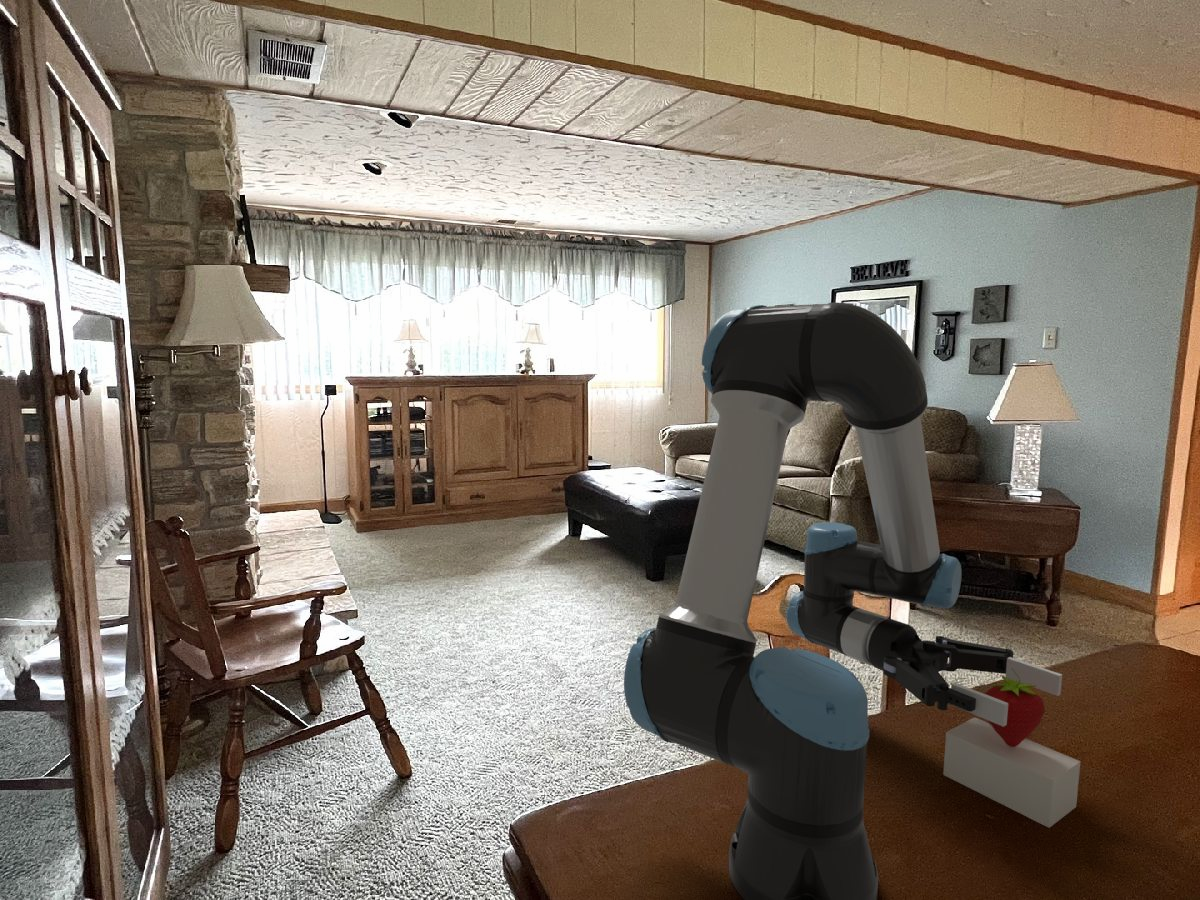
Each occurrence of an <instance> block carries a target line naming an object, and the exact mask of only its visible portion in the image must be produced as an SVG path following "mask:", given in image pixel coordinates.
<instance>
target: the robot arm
mask: <svg viewBox="0 0 1200 900" xmlns="http://www.w3.org/2000/svg"><path fill="white" fill-rule="evenodd" d="M701 365H702V367H703V366H704V368H703V370H702V371H701V374H702V379H703V382H704V383H703V384H704V386H705V388H706V389H707V390H708V391H709V393H711V398H710V402H711V404H712V406H713V407H714V409H715V410H716V411H717V413H718V416H719V417H718V421H717V424H716V430H715V434H714V438H713V443H712V446H711V451H710V453H709V454H710V455H709V458H708V463H707V466H706V467H707V468H706V472H705V476H704V480H703V485H702V489H701V492H700V497H699V501H698V506H697V509H696V513H695V514H696V515H695V518H694V523H693V527H692V531H691V535H690V539H689V543H688V547H687V548H688V549H687V552H686V555H685V561H684V565H683V569H682V573H681V577H680V582H679V586H678V590H677V594H676V597H675V602H674V604H673V605H672V606H670V607H669V608H667V609H666V610H664V611H662V612H660V613H659V616H658V619H657V622H656V627H653V628H649V629H646V630H644V631H643V632H642V633H640V635H638V637H637V638H636V643H633V644H632V645H631V647H630V649H629V653H628V654H627V658H626V663H625V667H624V673H623V674H624V675H623V691H624V692H623V693H624V699H625V703H626V706H627V708H628V709H629V714H630V716H631V717H632V719H633V721H634V722H635V723H636V724H637V725H638V726H639V727H640V728H641V729H643V730H644V731H647V732H649V733H651V734H653V735H655V736H657V737H659V738H660V739H661V740H662V741H664V742H666V743H669V744H676V745H679V746H681V747H684V748H686V749H689V750H691V751H694V752H696V753H698V754H701V755H703V756H706V757H709V758H711V759H713V760H716V761H719V762H720V763H724V764H725V765H729V766H731V767H733V768H735V769H736V768H737V769H739V770H740V771H744V772H745V773H747V786H748V787H747V800H746V802H745V804H744V807H743V809H742V812H741V815H740V817H739V820H738V822H737V825H736V827H735V830H734V832H733V834H732V836H731V838H730V839H731V840H730V843H729V844H730V845H729V850H728V851H729V857H728V871H729V877H730V879H731V882H732V884H733V886H734V888H735V891H737V893H738V894H739V895H740V898H742V899H743V900H878V889H879V888H878V886H879V873H878V868H877V863H876V860H875V858H874V856H873V854H872V852H871V847H870V843H869V840H868V839H869V838H868V835H867V831H866V828H865V825H864V824H865V823H864V802H865V786H866V771H867V770H866V768H867V752H868V741H869V738H870V730H871V729H870V723H869V719H868V718H869V717H868V714H869V712H868V710H869V703H868V695H867V692H866V689H865V687H864V685H863V684H862V682H861V681H859V680H858V678H857V677H856V675H855V674H854V673H853V672H852V671H851V670H850V669H848V668H847V667H845V665H843V664H841V663H840V662H838V661H836V660H834V659H832V658H830V657H828V656H825V655H823V654H820V653H817V652H814V651H811V650H807V649H801V648H794V649H790V648H788V647H771V648H768V649H764V650H762V651H760V652H759V653H757V654H756V656H754V655H755V651H756V646H757V641H758V640H757V639H756V638H757V637H755V634H754V633H753V631H752V630H751V628H750V626H749V623H748V620H749V619H748V618H749V614H750V610H751V605H752V600H753V596H754V592H755V591H754V590H755V586H756V582H757V577H758V573H759V568H760V564H761V563H760V562H761V560H762V556H763V549H764V544H765V541H766V537H767V536H766V535H767V530H768V526H769V522H770V516H771V513H772V508H773V503H774V499H775V495H776V490H777V486H778V485H777V484H778V480H779V476H780V470H781V467H782V463H783V456H784V454H785V448H786V443H787V439H788V435H789V434H788V433H789V431H790V429H792V428H794V427H795V426H797V425H798V424H800V423H802V422H803V421H804V419H805V416H806V411H807V406H808V403H809V402H834V403H837V404H838V405H840V406H841V409H842V413H843V417H844V419H845V421H846V422H847V423H848V425H850V426H851V427H853V428H855V432H856V436H857V442H858V446H859V450H860V455H861V460H862V464H863V469H864V473H865V474H864V475H865V478H866V483H867V487H868V492H869V496H870V501H871V506H872V511H873V515H874V519H875V525H876V530H877V535H878V538H879V543H880V544H877V543H870V542H864V541H859V540H858V539H859V537H858V533H857V532H858V531H857V530H856V528H855V527H854V526H853V525H848V524H845V523H840V522H833V521H830V522H829V521H827V522H825V521H824V522H817V523H814V524H812V525H810V526H808V528H807V531H806V540H805V541H806V542H805V548H804V551H803V554H804V573H803V575H804V577H803V580H804V581H803V590H802V591H801V590H800V591H798V592H797V593H795V594H794V595H793V596H792V597H791V599H790V600H789V607H788V608H787V609H786V612H785V613H786V614H785V615H786V623H787V625H788V628H789V630H790V631H791V632H792V633H794V634H795V635H796V636H799V637H800V638H803V639H805V640H806V641H807V642H809V643H812V645H813V644H815V645H817V646H821V647H824V648H826V649H829V650H832V651H834V652H837V653H839V654H841V655H844V656H846V657H849V658H851V659H854V660H855V661H858V662H859V664H861V665H867V666H872V667H874V668H875V669H876V670H880V671H882V673H883V675H885V676H886V677H888V678H890V679H892V680H894V681H896V682H897V683H898V684H900V685H901V686H902V687H904V689H906V690H907V691H908V692H909V693H910V694H912V695H913V696H914V697H915V698H916V699H918V700H919V701H920V702H921V703H923V704H924V705H925V706H927V707H935V704H936V703H937V704H936V705H937V706H936V708H937V709H938V710H940V711H947V710H948V707H949V705H950V706H953V707H955V708H958V709H960V710H962V711H965V712H966V713H970V714H972V715H974V716H977V717H980V718H982V719H984V720H986V721H988V720H989V721H991V722H993V723H996V724H998V725H1001V726H1003V727H1004V726H1005V725H1007V714H1008V703H1007V702H1004V701H1001V700H999V699H996V698H994V697H991V696H988V695H986V694H985V693H983V692H980V691H977V690H975V689H973V688H970V687H968V686H965V685H963V684H960V683H957V682H953V683H951V687H950V684H949V683H948V682H947V681H946V679H945V678H944V677H943V676H942V674H941V673H940V672H942V671H944V672H956V671H957V670H967V671H977V672H986V673H993V674H994V673H995V674H1003V675H1005V677H1007V678H1009V679H1011V680H1015V681H1019V678H1020V682H1019V684H1021V683H1026V684H1031V685H1037V686H1035V687H1033V689H1034V688H1035V689H1037V690H1040V691H1043V692H1045V693H1047V694H1051V695H1053V696H1056V697H1059V696H1060V695H1061V693H1062V682H1063V674H1062V673H1060V672H1056V671H1052V670H1049V669H1047V668H1044V667H1041V666H1038V665H1036V664H1035V665H1034V664H1032V663H1029V662H1026V661H1023V660H1020V659H1017V658H1014V650H1012V649H1009V648H1003V647H997V646H991V645H987V644H985V645H984V644H980V643H975V642H969V641H963V640H957V639H953V638H949V637H946V636H943V635H942V636H941V635H936V636H935V641H934V640H922V639H921V638H920V637H919V634H918V632H917V631H916V629H915V628H914V627H913V626H912V625H911V624H908V623H904V622H902V621H898V620H895V619H893V618H888V617H886V616H885V615H883V614H879V613H876V612H873V611H869V610H867V609H863V608H860V607H857V606H856V605H855V606H854V604H853V603H854V602H853V601H854V597H855V592H859V593H864V594H868V595H874V596H879V597H884V598H888V599H893V600H897V601H901V602H907V603H911V604H915V605H920V606H921V607H924V606H929V607H934V608H935V607H936V608H940V609H949V608H952V607H954V605H955V604H956V603H957V600H958V597H959V593H960V589H961V583H962V565H961V563H960V561H959V559H958V558H957V557H955V556H950V555H947V554H945V553H940V552H941V551H940V549H941V548H940V544H939V535H938V528H937V523H936V514H935V508H934V501H933V495H932V487H931V481H930V474H929V466H928V460H927V453H926V446H925V439H924V433H923V425H922V418H921V417H922V416H923V415H924V414H925V413H926V411H927V409H928V404H929V402H928V401H929V398H928V392H927V386H926V385H927V384H926V380H925V378H924V375H923V371H922V368H921V366H920V364H919V362H918V360H917V358H916V357H915V355H914V353H913V351H912V350H911V348H910V347H909V345H908V343H906V341H905V339H903V338H902V336H901V335H900V334H899V333H898V332H897V331H896V330H895V329H894V327H893V326H891V325H890V324H889V323H887V321H885V320H884V319H883V318H881V317H880V316H879V315H876V313H874V312H872V311H871V310H869V309H867V308H865V307H862V306H859V305H856V304H852V303H847V302H828V303H819V304H818V303H816V304H814V303H813V304H797V305H796V304H793V305H791V304H790V305H775V306H774V305H773V306H772V305H771V306H767V305H765V304H764V305H760V304H758V305H751V306H749V307H744V308H735V309H732V310H731V309H730V311H728V312H726V313H724V314H723V315H721V316H720V317H719V318H718V319H717V320H716V321H715V322H714V324H713V325H712V327H711V328H710V330H709V332H708V334H707V336H706V339H705V342H704V345H703V350H702V355H701ZM1012 668H1013V670H1014V671H1015V672H1016V674H1017V675H1018V677H1019V678H1018V677H1017V675H1016V674H1015V672H1014V671H1013V670H1012ZM948 704H949V705H948ZM989 721H988V722H989Z"/></svg>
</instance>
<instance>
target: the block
mask: <svg viewBox="0 0 1200 900" xmlns="http://www.w3.org/2000/svg"><path fill="white" fill-rule="evenodd" d="M944 744H945V747H944V757H943V758H944V760H943V775H944V776H945V777H947V778H949V779H951V780H953V781H954V782H957V783H959V784H960V785H962V786H965V787H967V788H969V789H970V790H973V791H975V792H976V793H978V794H981V795H983V796H984V797H987V798H989V799H990V800H992V801H995V802H997V803H999V804H1001V805H1003V806H1004V807H1006V808H1008V809H1010V810H1013V811H1014V812H1017V813H1019V814H1021V815H1023V816H1025V817H1027V818H1028V819H1031V820H1032V821H1035V822H1036V823H1038V824H1041V826H1045V827H1046V828H1051V827H1053V826H1054V825H1055V824H1056V823H1058V822H1059V821H1060V820H1061V819H1063V818H1064V817H1065V816H1067V815H1068V814H1070V812H1072V811H1073V810H1075V809H1076V808H1077V804H1078V803H1077V801H1078V800H1077V799H1078V793H1079V792H1078V791H1079V780H1080V770H1081V761H1080V760H1078V759H1076V758H1073V757H1071V756H1069V755H1066V754H1065V753H1061V752H1059V751H1056V750H1054V749H1052V748H1049V747H1047V746H1045V745H1042V744H1040V743H1037V742H1035V741H1032V740H1030V739H1028V738H1027V737H1026V738H1025V739H1024V740H1023V741H1022V742H1021V743H1020V744H1019V745H1017V746H1015V747H1011V746H1009V745H1007V744H1006V743H1005V742H1004V740H1003V739H1002V738H1001V737H1000V735H999V734H998V733H997V732H996V731H995V730H994V728H993V727H992V726H991V724H990V723H989V722H987V721H985V720H983V719H980V718H977V717H972V718H971V719H968V720H967V721H965V722H963V723H961V724H959V725H958V726H956V727H955V726H954V728H951V729H949V730H948V731H946V732H945V743H944Z"/></svg>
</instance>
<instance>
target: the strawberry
mask: <svg viewBox="0 0 1200 900" xmlns="http://www.w3.org/2000/svg"><path fill="white" fill-rule="evenodd" d="M1012 670H1013V668H1012ZM1013 671H1014V670H1013ZM1014 672H1015V671H1014ZM1015 674H1016V672H1015ZM1016 675H1017V674H1016ZM1001 677H1002V679H1003V681H1004V682H1003V683H993V684H991V687H990V688H989V689H988V690H987V691H986V692H985V693H984V694H986V695H988V696H991V697H994V698H996V699H999V700H1001V701H1004V702H1007V703H1008V714H1007V725H1005V726H1004V727H1003V726H1001V725H998V724H996V723H993V722H991V721H989V720H987V721H988V723H990V724H991V726H992V727H993V728H994V730H995V731H996V732H997V733H998V734H999V735H1000V737H1001V738H1002V739H1003V740H1004V742H1005V743H1006V744H1007V745H1009V746H1011V747H1015V746H1017V745H1019V744H1020V743H1021V742H1022V741H1023V740H1024V739H1025V738H1026V739H1027V738H1028V737H1029V736H1030V735H1032V733H1033V732H1034V731H1035V729H1037V727H1038V726H1039V725H1040V723H1041V721H1042V719H1043V716H1044V714H1045V710H1046V709H1045V704H1044V700H1043V698H1042V697H1041V696H1040V695H1039V694H1038V693H1037V692H1036V691H1035V690H1034V689H1031V688H1034V687H1035V686H1037V685H1031V684H1026V683H1020V678H1019V677H1018V675H1017V677H1018V678H1019V681H1015V680H1012V679H1009V678H1007V677H1006V675H1004V674H1003V675H1001Z"/></svg>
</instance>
